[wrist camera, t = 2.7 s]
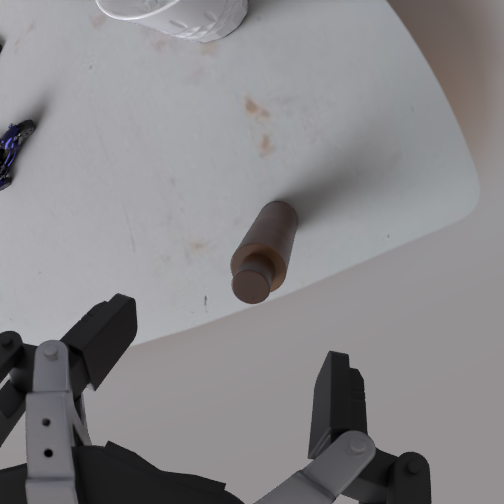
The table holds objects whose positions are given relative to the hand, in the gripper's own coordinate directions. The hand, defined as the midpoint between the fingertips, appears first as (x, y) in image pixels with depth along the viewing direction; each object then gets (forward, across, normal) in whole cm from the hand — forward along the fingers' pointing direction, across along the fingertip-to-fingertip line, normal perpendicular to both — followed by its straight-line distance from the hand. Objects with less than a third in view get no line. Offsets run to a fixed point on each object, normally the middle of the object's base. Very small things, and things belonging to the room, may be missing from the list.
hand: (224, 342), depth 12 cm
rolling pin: (+15, 0, 0) cm, 15 cm away
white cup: (+16, +8, -17) cm, 25 cm away
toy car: (+16, +33, -3) cm, 37 cm away
